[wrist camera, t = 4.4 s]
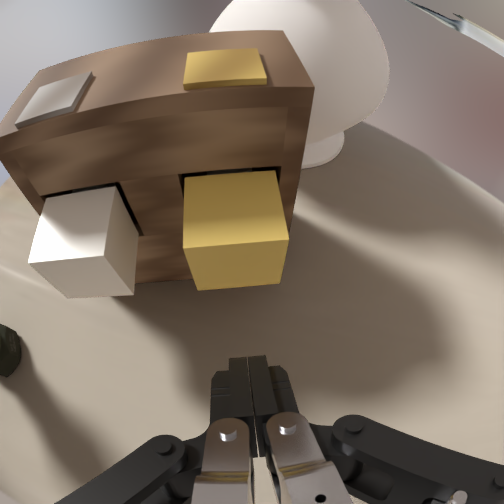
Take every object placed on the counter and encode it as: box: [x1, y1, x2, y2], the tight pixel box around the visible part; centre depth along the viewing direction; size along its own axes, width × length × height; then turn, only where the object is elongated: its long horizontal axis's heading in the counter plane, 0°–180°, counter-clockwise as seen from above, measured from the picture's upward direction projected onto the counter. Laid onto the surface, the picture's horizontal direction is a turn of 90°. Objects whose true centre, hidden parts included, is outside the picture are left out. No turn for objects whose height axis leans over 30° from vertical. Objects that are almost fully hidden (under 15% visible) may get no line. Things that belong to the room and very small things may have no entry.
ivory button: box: [28, 182, 139, 298], centre depth 16 cm, size 4×6×4 cm
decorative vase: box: [209, 0, 390, 169], centre depth 23 cm, size 18×18×25 cm
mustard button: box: [183, 168, 289, 290], centre depth 16 cm, size 4×6×4 cm
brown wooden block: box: [0, 30, 315, 283], centre depth 19 cm, size 15×7×16 cm, turn 96°
